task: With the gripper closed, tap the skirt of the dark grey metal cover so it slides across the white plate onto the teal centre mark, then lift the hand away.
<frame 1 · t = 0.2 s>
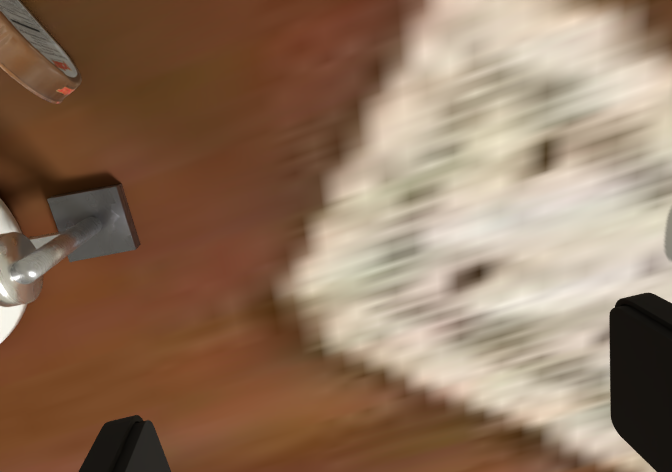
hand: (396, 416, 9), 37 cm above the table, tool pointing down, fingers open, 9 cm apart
tin: (21, 18, 38), on the table
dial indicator: (98, 220, 43), on the table
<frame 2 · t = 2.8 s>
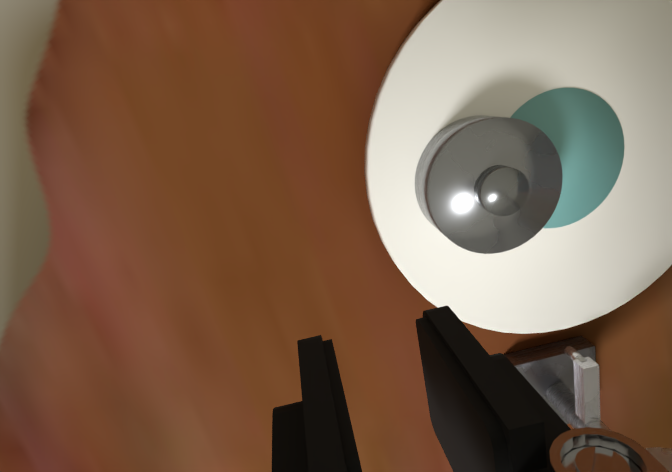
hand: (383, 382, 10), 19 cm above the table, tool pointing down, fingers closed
white plate: (530, 154, 29), on the table
cover: (475, 179, 26), point 3 cm above the table, touching white plate
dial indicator: (544, 380, 34), on the table
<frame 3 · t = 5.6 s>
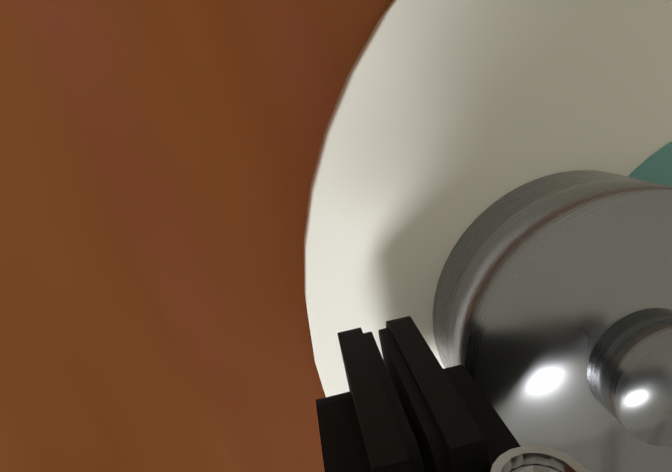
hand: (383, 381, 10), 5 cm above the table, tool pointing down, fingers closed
white plate: (634, 238, 15), on the table
cover: (563, 304, 12), point 3 cm above the table, touching gripper
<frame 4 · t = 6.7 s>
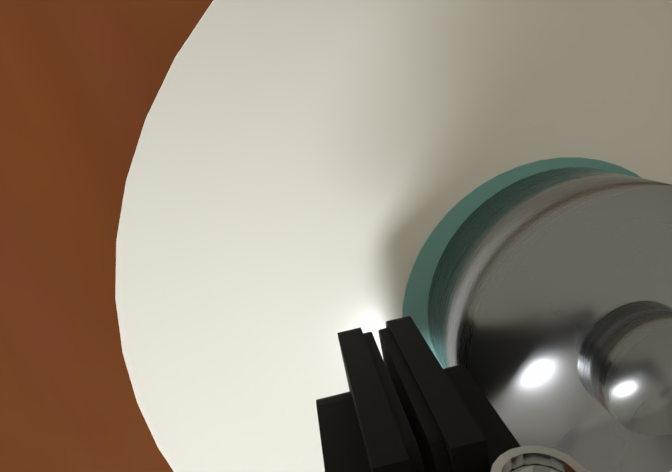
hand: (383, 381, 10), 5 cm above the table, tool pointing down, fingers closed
white plate: (497, 269, 15), on the table
cover: (555, 299, 12), point 3 cm above the table, touching gripper, white plate
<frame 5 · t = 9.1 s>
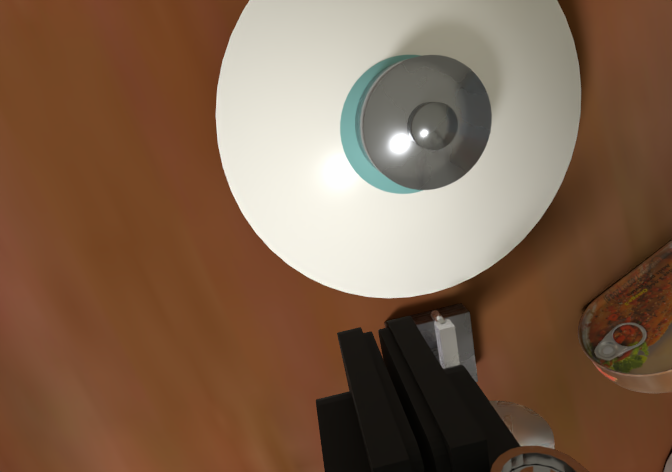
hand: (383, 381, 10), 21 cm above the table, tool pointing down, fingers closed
tin: (638, 281, 37), on the table
white plate: (394, 124, 30), on the table
cover: (413, 122, 27), point 3 cm above the table, touching white plate
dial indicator: (428, 347, 35), on the table
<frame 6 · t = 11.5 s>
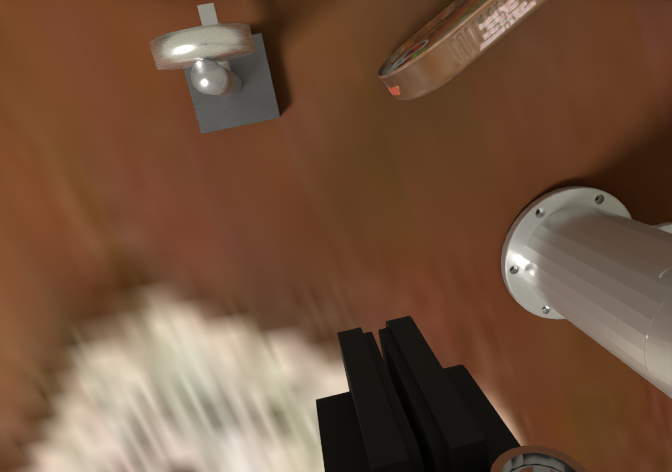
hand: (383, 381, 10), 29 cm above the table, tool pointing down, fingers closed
tin: (451, 29, 36), on the table
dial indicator: (232, 84, 35), on the table
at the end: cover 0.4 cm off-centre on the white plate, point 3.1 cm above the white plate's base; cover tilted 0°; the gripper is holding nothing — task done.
